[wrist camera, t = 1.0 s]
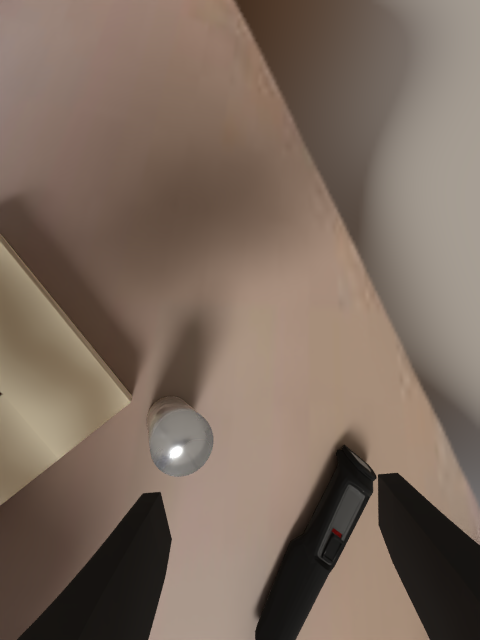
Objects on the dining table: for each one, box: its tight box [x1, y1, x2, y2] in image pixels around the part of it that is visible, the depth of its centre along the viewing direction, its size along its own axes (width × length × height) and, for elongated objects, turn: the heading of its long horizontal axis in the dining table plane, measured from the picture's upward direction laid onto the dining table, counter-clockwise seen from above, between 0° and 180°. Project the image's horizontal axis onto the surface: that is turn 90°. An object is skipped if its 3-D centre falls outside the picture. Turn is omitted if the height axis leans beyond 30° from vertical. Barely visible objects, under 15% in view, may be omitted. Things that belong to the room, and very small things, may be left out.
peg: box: [147, 396, 213, 477], centre depth 18 cm, size 3×3×7 cm
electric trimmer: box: [255, 445, 377, 640], centre depth 23 cm, size 4×16×3 cm, turn 141°
